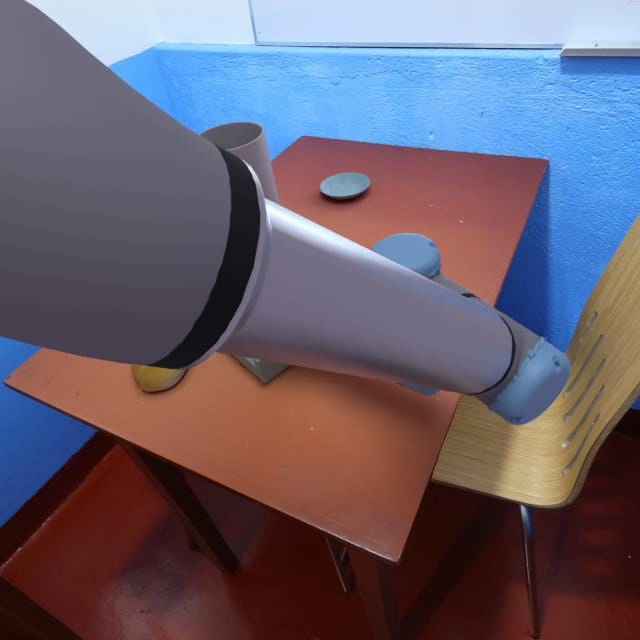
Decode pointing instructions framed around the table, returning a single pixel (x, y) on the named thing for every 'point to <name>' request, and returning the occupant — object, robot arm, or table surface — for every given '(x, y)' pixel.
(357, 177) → the saucer
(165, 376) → the bread roll
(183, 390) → the table surface
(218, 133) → the cylinder vase
